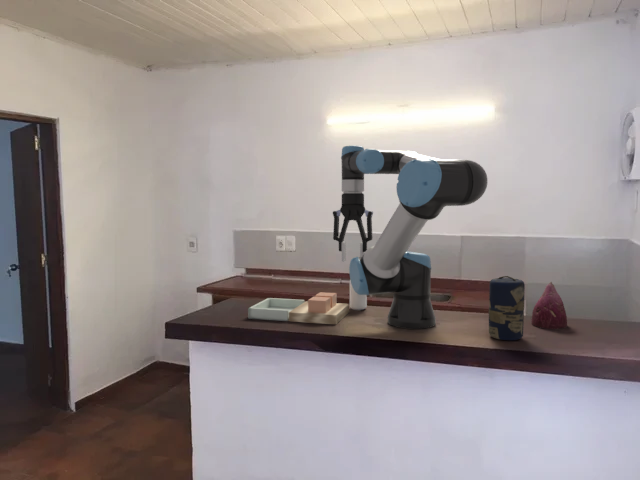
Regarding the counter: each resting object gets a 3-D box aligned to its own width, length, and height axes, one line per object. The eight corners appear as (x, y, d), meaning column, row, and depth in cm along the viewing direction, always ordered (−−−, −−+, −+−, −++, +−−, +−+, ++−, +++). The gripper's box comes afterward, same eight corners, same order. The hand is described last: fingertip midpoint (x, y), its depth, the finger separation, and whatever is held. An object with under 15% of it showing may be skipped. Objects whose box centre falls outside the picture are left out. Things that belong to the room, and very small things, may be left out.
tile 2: (336, 304, 182) (336, 293, 182) (332, 307, 176) (332, 296, 176) (320, 303, 184) (320, 292, 183) (315, 306, 178) (315, 295, 178)
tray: (304, 309, 188) (304, 299, 187) (287, 321, 170) (287, 310, 170) (268, 307, 192) (268, 297, 191) (248, 318, 174) (248, 308, 174)
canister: (504, 344, 143) (506, 279, 142) (481, 335, 152) (482, 274, 150) (530, 340, 147) (532, 277, 146) (506, 332, 156) (508, 272, 154)
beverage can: (346, 309, 188) (346, 276, 187) (356, 306, 193) (356, 274, 191) (359, 311, 184) (359, 278, 183) (370, 308, 188) (370, 276, 187)
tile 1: (330, 309, 174) (330, 297, 174) (325, 313, 169) (325, 301, 168) (313, 308, 176) (313, 296, 176) (308, 312, 170) (308, 300, 170)
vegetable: (536, 330, 170) (534, 284, 173) (570, 330, 164) (567, 283, 167) (527, 328, 162) (525, 280, 165) (563, 329, 156) (560, 279, 159)
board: (348, 312, 183) (348, 303, 183) (336, 324, 166) (336, 315, 166) (305, 309, 188) (305, 301, 187) (288, 321, 170) (288, 312, 170)
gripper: (382, 192, 175) (381, 260, 177) (328, 192, 180) (329, 259, 182) (378, 192, 168) (378, 263, 170) (322, 192, 173) (323, 261, 175)
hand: (352, 261), depth 176 cm, fingers open, 6 cm apart
